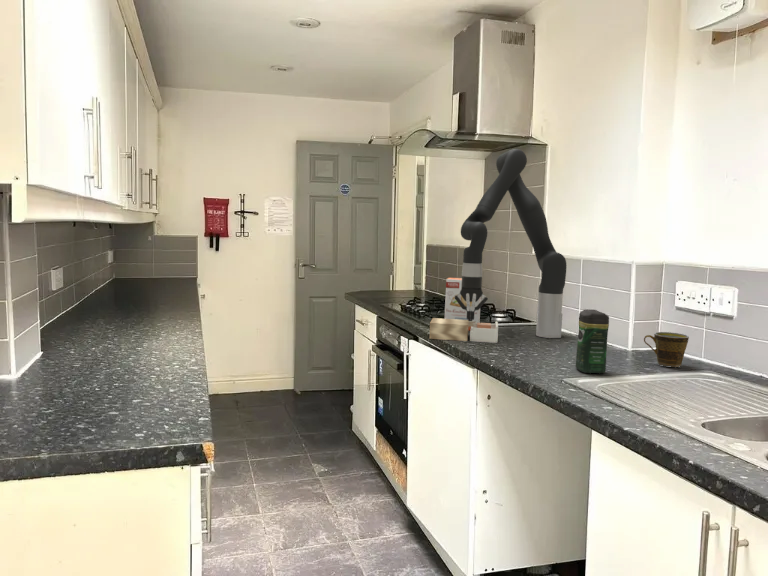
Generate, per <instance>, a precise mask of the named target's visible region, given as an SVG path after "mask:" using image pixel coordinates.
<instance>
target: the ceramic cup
mask: <svg viewBox="0 0 768 576" xmlns="http://www.w3.org/2000/svg"><path fill="white" fill-rule="evenodd" d="M653 335H654V336H653ZM653 335H649V334H647V335H645V336H644V338H643V342H644V343H645V345H647V346H648V347H649V348H650V349H651V350H652V351H653V352H654V354H655V355H656V362H657V365H658V364H659V365H663V366H671V367H679V366H681V367H682V364H683V361H684V356H685V353H686V350H687V347H688V343H689V339H690V337H689V335H687V334H684V333H680V332H679V333H678V332H670V331H668V332H667V331H659V332H654V333H653ZM646 338H651V340H653V342H654V344H655V349H654V348H653V347H652V346H651V345H650V344H649V343H648V342H647V341H646ZM659 365H658V366H659Z"/></svg>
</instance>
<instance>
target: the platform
mask: <svg viewBox="0 0 768 576" xmlns="http://www.w3.org/2000/svg"><path fill="white" fill-rule="evenodd" d="M468 327H469V321H468V320H459V319H444V318H438V317H432V318H431V321H430V322H429V340H444V341H445V340H446V341H460V342H468V340H469V339H468V338H469V331H468Z"/></svg>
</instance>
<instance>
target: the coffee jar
mask: <svg viewBox="0 0 768 576" xmlns="http://www.w3.org/2000/svg"><path fill="white" fill-rule="evenodd" d="M609 326H610V316H609V315H608V314H606V313H604V312H602V311H600V310H598V309H586V308H585V309H583V310H582V311H580V312H579V313H578V329H577V330H578V331H577V332H578V334H577V344H576V345H577V346H576V356H575V357H576V358H575V368H576V369H577V370H578V371H579V372H582V373H586V374H587V373H588V374H591V373H599V374H605V372H606V367H607V348H608V336H609Z"/></svg>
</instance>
